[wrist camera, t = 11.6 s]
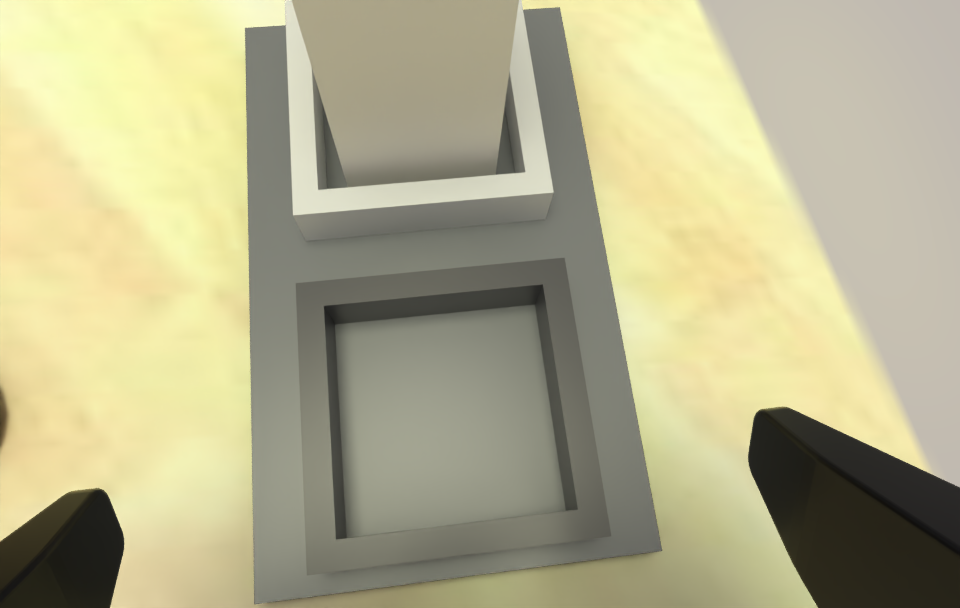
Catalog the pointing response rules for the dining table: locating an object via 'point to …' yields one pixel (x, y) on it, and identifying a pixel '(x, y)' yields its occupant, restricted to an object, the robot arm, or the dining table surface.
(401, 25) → the plug
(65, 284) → the dining table surface
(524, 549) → the board
